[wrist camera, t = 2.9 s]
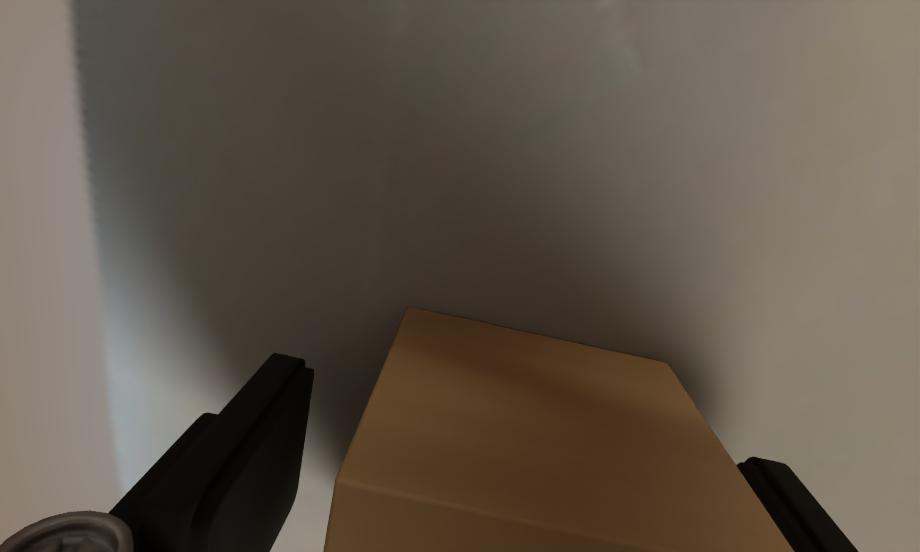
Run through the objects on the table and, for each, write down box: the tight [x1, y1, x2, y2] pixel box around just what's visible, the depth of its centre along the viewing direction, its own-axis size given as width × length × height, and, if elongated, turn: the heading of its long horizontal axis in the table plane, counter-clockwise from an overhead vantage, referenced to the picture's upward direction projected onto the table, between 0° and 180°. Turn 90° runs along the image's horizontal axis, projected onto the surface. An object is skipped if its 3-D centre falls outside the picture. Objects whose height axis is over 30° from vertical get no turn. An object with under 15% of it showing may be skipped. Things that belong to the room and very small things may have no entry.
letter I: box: [323, 307, 794, 552], centre depth 9 cm, size 5×5×5 cm
